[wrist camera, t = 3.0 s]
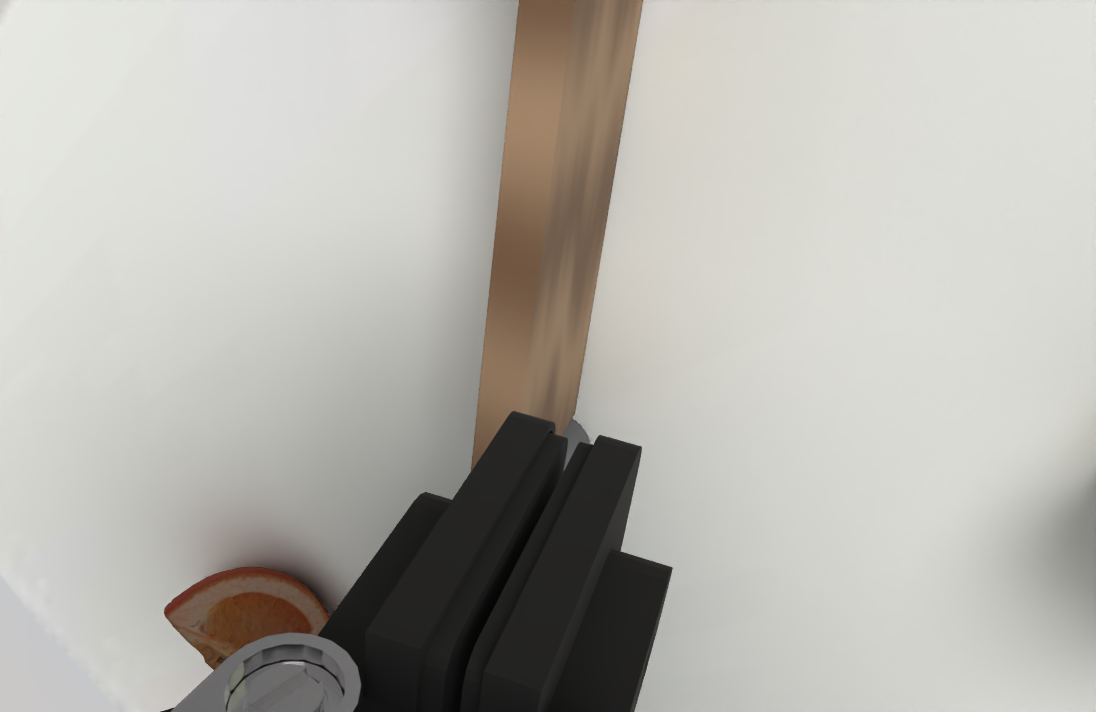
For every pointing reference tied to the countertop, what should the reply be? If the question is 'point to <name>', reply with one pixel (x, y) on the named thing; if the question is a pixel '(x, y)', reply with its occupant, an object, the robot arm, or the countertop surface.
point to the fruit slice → (243, 611)
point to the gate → (553, 205)
